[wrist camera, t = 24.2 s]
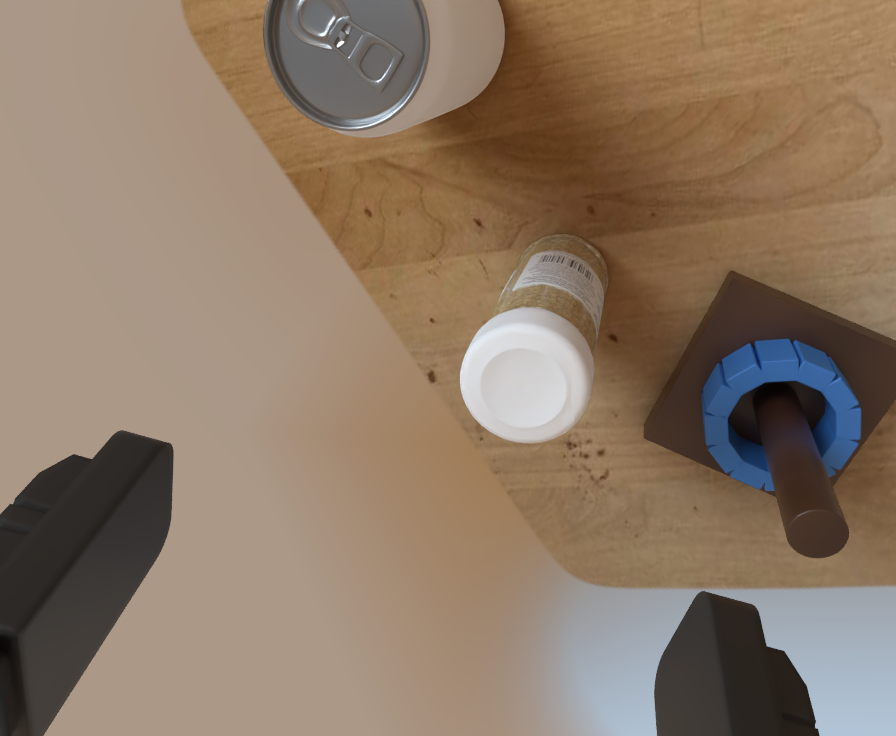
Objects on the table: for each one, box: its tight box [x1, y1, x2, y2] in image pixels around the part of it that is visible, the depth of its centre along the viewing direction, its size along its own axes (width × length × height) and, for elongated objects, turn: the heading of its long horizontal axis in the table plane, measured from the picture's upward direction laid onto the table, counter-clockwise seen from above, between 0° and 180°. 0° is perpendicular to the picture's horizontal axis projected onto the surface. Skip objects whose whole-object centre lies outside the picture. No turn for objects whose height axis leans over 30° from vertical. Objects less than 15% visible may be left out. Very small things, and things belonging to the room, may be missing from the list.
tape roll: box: [701, 339, 861, 491], centre depth 36 cm, size 6×6×3 cm
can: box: [263, 0, 505, 137], centre depth 31 cm, size 6×6×12 cm
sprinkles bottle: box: [460, 234, 609, 443], centre depth 33 cm, size 5×5×13 cm
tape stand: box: [644, 271, 896, 558], centre depth 33 cm, size 9×9×12 cm
